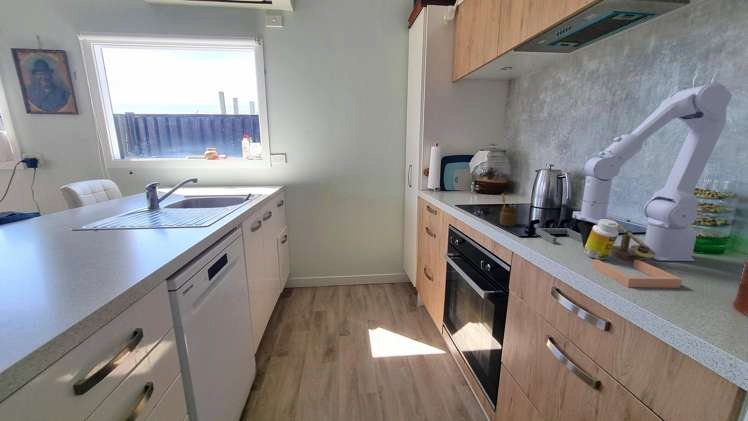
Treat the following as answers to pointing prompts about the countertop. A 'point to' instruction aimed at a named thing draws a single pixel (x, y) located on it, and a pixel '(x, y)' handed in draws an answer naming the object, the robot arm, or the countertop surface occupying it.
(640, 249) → the balance beam
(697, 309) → the countertop surface
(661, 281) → the frame
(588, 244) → the supplement bottle
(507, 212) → the utensil holder
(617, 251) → the stand
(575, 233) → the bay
